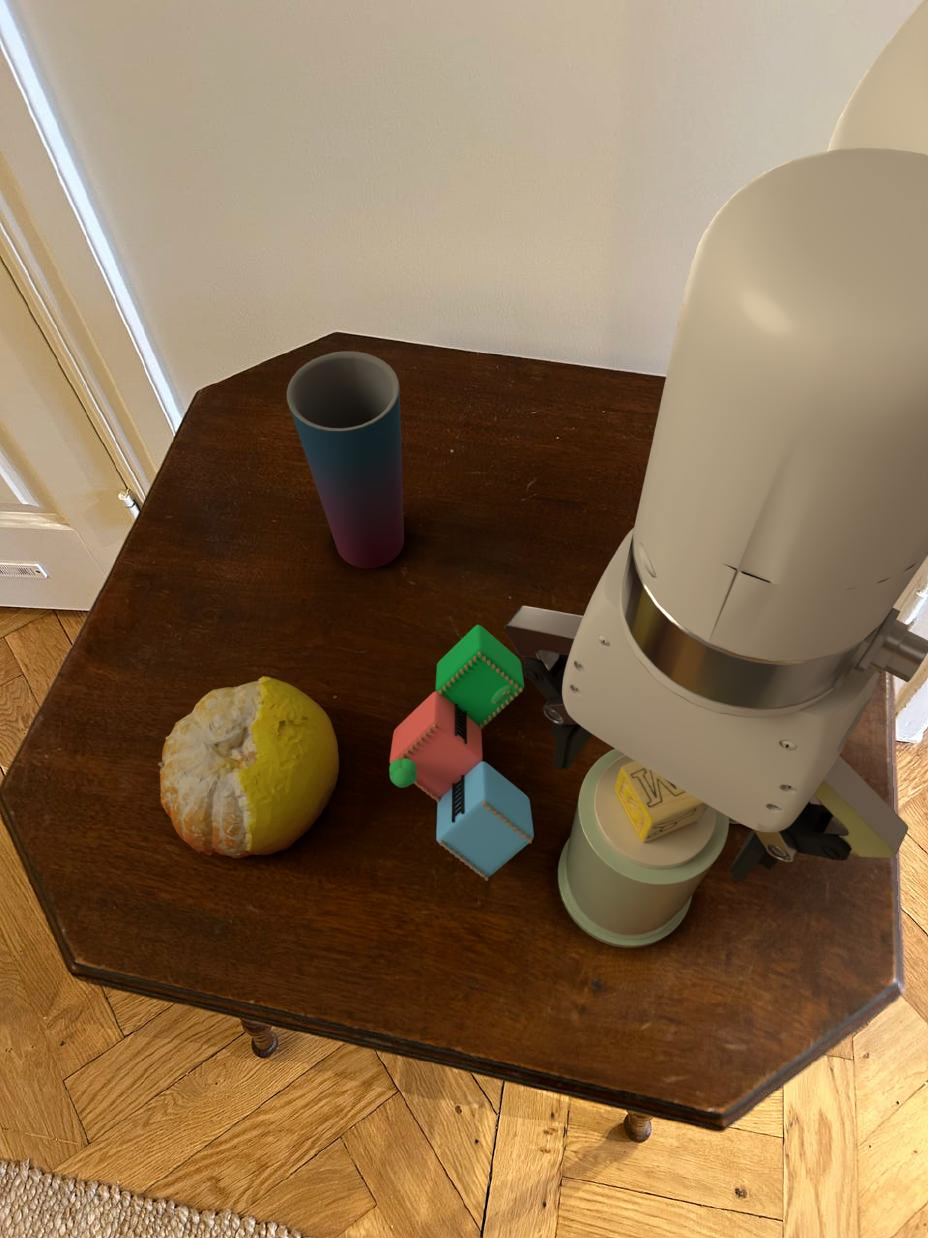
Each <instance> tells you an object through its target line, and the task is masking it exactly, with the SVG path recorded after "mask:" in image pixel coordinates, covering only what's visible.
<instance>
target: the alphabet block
mask: <svg viewBox="0 0 928 1238" xmlns="http://www.w3.org/2000/svg"><path fill="white" fill-rule="evenodd" d="M614 789H615V792H616V794H617V796H618V798H619V800H620V802H621V803H622V805H623V807H624V809H625V811H626V813H627V815H628V817H629V819H630V821H631V823H632V825H633V826H634V828H635V830H636V832H637V834H638V836H639V838H640V840H641V842H643V843H645V842H647V841H650V840H652V839H655V838H657V837H659V836H662V835H664V834H666V833H668V832H671V831H673V830H676V829H678V828H680V827H683V826H685V825H687V824H690V823H692V822H695V821H697V820H700V819H701V817H702V815H703V814H704V812H705V811H706V809H707V807H708V806H709V805H707V804H706V803H704V802H702V801H701V800H699V799H697V798H696V797H694V796H692V795H691V794H689V793H687V792H686V791H684V790H682V789H681V788H679V787H677V786H676V785H674V784H672V783H671V782H669V781H667V780H666V779H664V778H662V777H661V776H659V775H657V774H656V773H654V772H653V771H651V770H649V769H648V768H646V767H644V766H643V765H641V764H639V763H638V762H636V761H633V762H631V763H628V764H626V765H623V766H622V767H621V768H620V771H619V775H618V778H617V781H616V784H615V787H614Z"/></svg>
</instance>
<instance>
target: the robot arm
mask: <svg viewBox="0 0 928 1238" xmlns="http://www.w3.org/2000/svg"><path fill="white" fill-rule="evenodd" d="M697 244H698V245H697V247H696V250H695V252H694V253H695V254H694V256H693V259H692V261H691V265H690V269H689V273H688V276H687V279H686V283H685V287H684V290H683V294H682V299H681V303H680V308H679V314H678V319H677V323H676V328H675V332H674V338H673V342H672V347H671V351H670V357H669V361H668V366H667V371H666V376H665V382H664V386H663V390H662V395H661V398H660V399H661V400H660V403H659V404H660V405H659V409H658V413H657V419H656V424H655V428H654V434H653V439H652V442H651V448H650V453H649V455H648V456H649V457H648V461H647V466H646V470H645V476H644V480H643V485H642V489H641V494H640V499H639V504H638V507H637V508H638V509H637V513H636V518H635V521H634V527H633V528H632V529H630V531H628V533H627V534H626V536H625V537H624V539H623V540H622V541H621V543H620V545H618V548H617V549H616V551H615V553H614V555H613V556H614V557H613V556H612V558H611V559H612V560H611V559H610V561H611V562H610V561H609V562H608V564H607V566H606V568H605V570H604V572H603V574H602V575H601V576H600V579H599V581H598V583H597V585H596V587H595V589H594V591H593V593H592V595H591V598H590V600H589V601H588V604H587V606H586V609H585V612H584V613H583V615H578V614H575V613H574V614H573V613H567V612H561V611H557V610H550V609H544V608H539V607H533V606H528V605H520V606H519V607H518V608H517V610H516V611H515V612H514V614H513V615H512V616H511V617H510V618H509V619H508V621H507V622H506V624H505V625H504V626H503V631H504V632H505V634H506V636H507V638H508V640H509V641H510V643H511V644H512V646H513V648H514V650H515V652H516V653H517V655H518V656H519V657H522V658H523V660H524V662H523V663H521V666H522V672H524V675H525V677H526V678H527V679H528V680H529V681H530V682H532V684H533V685H534V686H535V688H536V689H537V690H538V691H539V692H540V694H541V695H542V696H543V698H545V700H546V701H547V702H545V704H544V705H543V707H542V708H541V710H542V713H543V714H544V716H545V717H546V718H547V719H548V720H550V721H551V731H550V737H552V738H554V739H556V740H555V746H554V747H555V748H554V753H553V754H554V755H553V761H552V766H554V767H556V768H558V769H559V770H560V771H563V770H566V771H569V769H570V768H571V767H572V765H573V763H574V762H575V761H576V759H577V758H578V757H579V755H580V753H581V752H582V750H583V749H584V748H585V746H586V745H587V744H588V742H589V740H590V739H591V738H592V737H593V736H595V737H596V738H598V739H599V740H600V741H602V742H604V743H605V744H606V745H608V746H610V747H612V748H614V749H617V750H618V751H620V752H622V753H623V754H625V755H626V756H628V757H630V758H631V759H633V760H635V761H636V762H638V763H639V764H641V765H643V766H644V767H646V768H648V769H649V770H651V771H653V772H654V773H656V774H657V775H659V776H661V777H662V778H664V779H666V780H667V781H669V782H671V783H672V784H674V785H676V786H677V787H679V788H681V789H682V790H684V791H686V792H687V793H689V794H691V795H692V796H694V797H696V798H697V799H699V800H701V801H702V802H704V803H706V804H707V805H709V806H711V807H712V808H714V809H716V810H718V811H719V812H721V813H723V814H724V815H726V816H728V817H730V818H732V819H733V820H735V821H737V822H739V823H741V824H740V825H743V826H745V827H747V828H750V829H751V830H750V832H749V834H748V835H747V837H746V839H745V841H744V842H743V844H742V846H741V848H740V849H739V851H738V853H737V855H736V857H734V858H735V859H734V860H733V862H732V864H731V865H730V867H729V869H728V873H731V875H730V877H731V878H733V879H734V880H736V881H737V882H739V883H740V884H742V883H743V882H744V881H745V879H746V878H747V877H748V876H749V875H750V873H751V872H752V871H753V870H754V868H755V867H756V866H757V865H759V866H761V867H763V868H764V869H766V870H767V871H769V872H770V871H771V870H772V869H773V868H774V867H775V865H776V864H777V863H778V862H779V861H781V862H784V863H791V862H793V861H794V859H795V857H796V855H797V854H798V853H799V854H805V855H808V856H814V857H819V858H825V859H828V860H831V861H838V862H839V861H840V862H844V861H847V859H848V858H849V856H850V855H854V854H855V855H857V857H859V858H889V859H891V858H895V857H896V856H897V854H898V852H899V850H900V847H901V846H902V843H903V841H904V839H905V838H906V835H907V833H908V831H909V825H908V824H907V823H906V822H905V821H904V820H903V818H901V817H900V815H898V813H897V812H896V811H895V810H894V809H892V807H891V806H890V805H889V804H888V803H887V802H886V801H885V800H884V799H883V798H882V797H881V796H880V795H879V794H878V793H877V792H876V791H875V790H874V789H873V788H872V787H871V786H870V785H869V784H868V782H866V780H865V779H864V778H862V776H861V775H860V774H859V773H858V772H856V770H855V769H853V767H852V766H851V765H850V764H849V763H848V762H847V761H846V760H845V759H844V758H843V757H842V756H841V753H842V751H843V750H844V748H845V746H846V744H847V743H848V741H849V739H850V737H851V736H852V734H853V732H854V731H855V730H856V727H857V726H858V724H859V722H860V720H861V719H862V717H863V716H864V714H865V711H866V709H867V707H868V705H869V703H870V702H871V701H870V700H871V699H872V697H873V694H874V692H875V688H876V687H877V684H878V681H879V678H880V676H881V674H882V672H883V671H884V672H886V673H888V674H890V675H892V676H894V677H895V678H897V679H899V680H902V681H903V682H906V683H909V682H910V681H911V680H912V679H913V677H914V676H915V674H917V671H918V670H919V669H920V667H921V665H922V664H923V663H924V660H925V659H926V658H927V656H928V639H926V638H924V637H922V636H920V635H918V634H916V633H914V632H912V631H909V627H910V625H909V624H906V623H905V622H902V621H901V620H898V617H899V615H900V613H901V612H902V611H901V610H899V609H897V608H895V607H894V606H895V605H896V603H897V601H898V600H899V599H900V597H901V596H902V594H903V593H904V591H905V589H906V588H907V587H908V586H909V584H910V582H911V581H912V580H913V578H914V577H915V575H916V574H917V572H918V571H919V570H920V568H921V567H922V565H923V564H924V562H925V560H926V559H927V558H928V0H921V2H920V3H919V5H918V6H916V7H915V9H914V10H913V11H912V12H911V13H910V14H909V15H908V17H907V18H906V19H905V20H904V21H903V22H902V23H901V25H900V26H899V27H898V28H897V30H895V32H894V33H893V35H892V36H891V37H890V39H889V40H888V41H887V43H886V44H885V46H883V48H882V50H881V51H880V52H879V53H878V54H877V56H876V58H875V59H874V60H873V62H872V63H871V65H870V66H869V67H868V69H867V70H866V71H865V73H864V74H863V76H862V77H861V79H860V81H859V82H858V83H857V85H856V87H855V89H854V91H852V94H851V96H850V98H849V99H848V101H847V103H846V105H845V106H844V108H843V110H842V112H841V114H840V116H839V118H838V120H837V122H836V125H835V128H834V130H833V133H832V136H831V138H830V141H829V144H828V147H827V150H826V151H821V152H815V153H811V154H809V155H806V156H802V157H799V158H798V157H797V158H795V159H792V160H788V161H786V162H783V163H781V164H778V165H777V166H774V167H772V168H769V169H767V170H766V171H763V172H761V173H760V174H758V175H757V176H756V177H754V178H753V179H751V180H749V181H748V182H747V183H745V184H744V185H743V186H742V187H740V188H739V189H738V190H737V191H736V192H735V193H734V194H732V195H731V197H730V198H729V199H728V200H727V201H726V202H725V203H724V204H723V205H722V206H721V208H720V209H718V211H716V213H715V215H714V216H713V218H712V219H711V221H710V223H709V224H708V226H707V227H706V228H705V230H704V232H703V234H702V236H701V238H700V240H699V242H698V243H697Z"/></svg>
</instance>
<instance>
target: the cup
mask: <svg viewBox="0 0 928 1238" xmlns="http://www.w3.org/2000/svg"><path fill="white" fill-rule="evenodd" d="M400 390H401V389H400V382H399V378H398V376H397V373H396V372H395V371H394V370H393V368H392V366H391V365H390V364H388V363H387V362H386V361H384V360H382V359H381V358H378V357H377V356H375V355H371V354H370V353H365V352H360V351H336V352H331V353H327V354H323V355H321V356H319V357H316V358H314V359H311V360H310V361H309V362H307V363H305V364H304V365H302V366H301V367H300V368H299V369H298V370H297V371H296V372H295V373H294V374H293V375H292V377H291V379H290V381H289V382H288V386H287V390H286V402H287V405H288V408H289V411H290V414H291V417H292V419H293V423H294V425H295V428H296V432H297V434H298V437H299V438H298V439H299V440H300V443H301V446H302V449H303V452H304V455H305V458H306V462H307V463H308V467H309V469H310V473H311V475H312V479H313V482H314V484H315V487H316V490H317V493H318V497H319V499H320V502H321V505H322V508H323V511H324V515H325V517H326V520H327V523H328V526H329V529H330V532H331V535H332V537H333V541H334V543H335V547H336V549H337V552H338V554H339V556H340V558H341V559H342V560H344V561H345V562H346V563H347V564H349V565H351V566H353V567H356V568H358V569H359V568H360V569H377V568H380V567H383V566H385V565H389V564H390V563H391V562H392V561H394V560H395V559H396V558H397V557H398V556H399V555H400V553H401V551H402V549H403V547H404V545H405V544H404V543H405V526H404V492H403V491H404V489H403V459H402V457H403V456H402V427H401V426H402V425H401V394H400V393H401V391H400Z"/></svg>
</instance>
